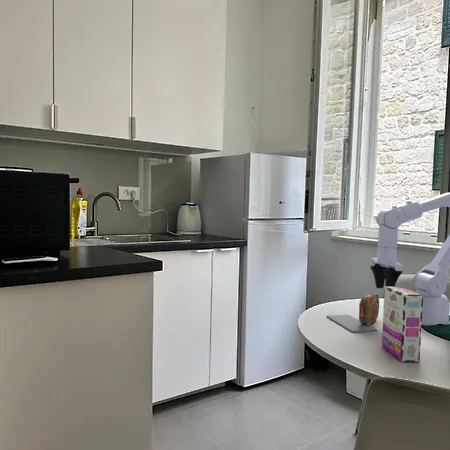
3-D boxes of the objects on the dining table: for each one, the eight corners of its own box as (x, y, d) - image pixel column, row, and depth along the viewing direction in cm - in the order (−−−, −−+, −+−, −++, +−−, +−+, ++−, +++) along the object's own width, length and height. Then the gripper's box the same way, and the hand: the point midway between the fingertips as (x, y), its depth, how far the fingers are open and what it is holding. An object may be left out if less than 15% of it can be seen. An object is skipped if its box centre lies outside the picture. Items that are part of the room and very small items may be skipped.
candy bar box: (421, 362, 105) (424, 295, 104) (401, 362, 104) (404, 295, 103) (399, 346, 116) (401, 285, 115) (380, 347, 115) (383, 285, 114)
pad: (348, 316, 146) (348, 314, 146) (377, 331, 129) (377, 329, 129) (326, 317, 144) (326, 315, 144) (352, 332, 127) (352, 330, 127)
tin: (366, 327, 131) (368, 299, 130) (355, 325, 132) (358, 297, 132) (378, 318, 143) (381, 293, 143) (369, 316, 145) (371, 291, 144)
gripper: (363, 244, 144) (361, 285, 145) (389, 249, 130) (386, 294, 130) (382, 244, 145) (380, 285, 146) (410, 250, 131) (407, 294, 132)
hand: (384, 289), depth 138 cm, fingers open, 5 cm apart
